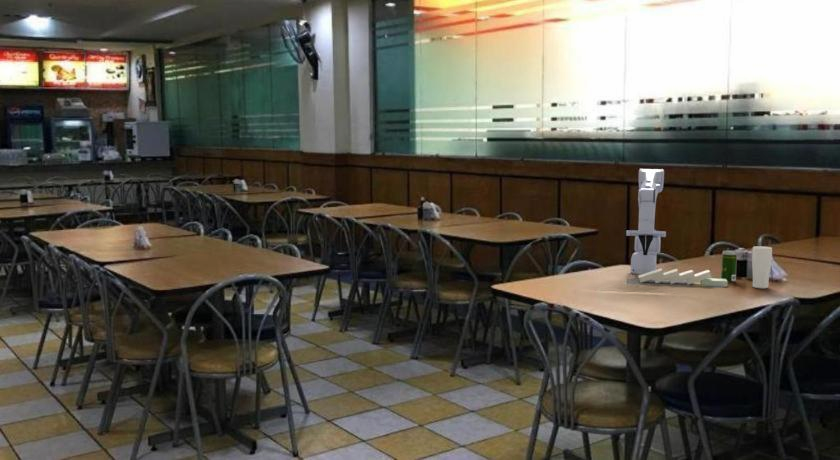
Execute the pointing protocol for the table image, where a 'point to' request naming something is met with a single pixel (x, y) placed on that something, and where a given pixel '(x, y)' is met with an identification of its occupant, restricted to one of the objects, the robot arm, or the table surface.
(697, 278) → the domino
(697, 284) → the domino mat
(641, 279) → the domino
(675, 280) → the domino
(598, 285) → the table surface
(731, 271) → the beer can
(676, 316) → the table surface
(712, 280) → the domino
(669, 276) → the domino
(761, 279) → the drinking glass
